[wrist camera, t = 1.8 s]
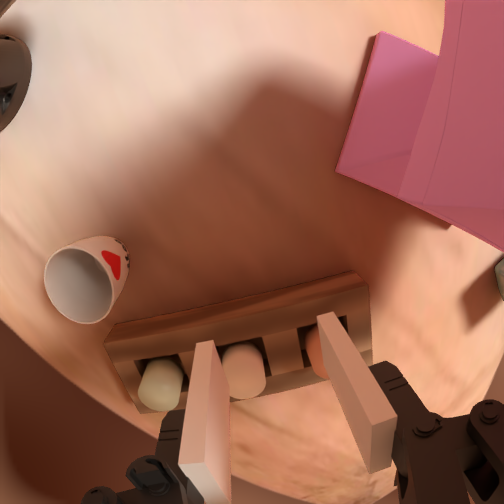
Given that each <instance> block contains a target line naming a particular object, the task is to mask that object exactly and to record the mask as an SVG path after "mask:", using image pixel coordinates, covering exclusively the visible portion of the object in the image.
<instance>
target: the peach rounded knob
mask: <svg viewBox="0 0 504 504" xmlns="http://www.w3.org/2000/svg"><path fill="white" fill-rule="evenodd" d="M222 367H223V370H224V373H225V375H226V378H227V381H228V384H229V391H230V396H231V397H233V398H237V399H250V398H253V397H255V396H257V395H259V394H260V393H261V392H262V391H263V390H264V388H265V386H266V378H265V372H264V366H263V359H262V353H261V351H260V349H259V348H258V347H257V346H256V345H254V344H253V343H250V342H246V341H239V342H235V343H232V344H230V345H229V346H228V347H226V349H225V350H224V352H223V355H222Z"/></svg>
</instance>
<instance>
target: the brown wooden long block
mask: <svg viewBox="0 0 504 504" xmlns="http://www.w3.org/2000/svg"><path fill="white" fill-rule="evenodd" d="M330 312H334V313H335V315H336V317H337V318H338V320H339V321H340V323H341V324H342V326H343V328H344V329H345V331H346V332H347V334H348V336H349V337H350V339H351V340H352V342H353V344H354V345H355V347H356V348H357V350H358V352H359V353H360V355H361V357H362V358H363V360H364V361H365V363H366V365H367V366H371V365H373V355H372V331H371V314H370V300H369V288H368V284H367V283H366V282H365V281H364V280H363V279H362V278H361V277H360V276H359V275H358V274H356V273H355V272H354V271H349V272H346V273H342V274H338V275H334V276H330V277H326V278H322V279H319V280H315V281H311V282H307V283H303V284H299V285H295V286H290V287H286V288H282V289H278V290H274V291H270V292H266V293H261V294H257V295H253V296H248V297H244V298H240V299H235V300H231V301H226V302H222V303H217V304H213V305H208V306H204V307H199V308H194V309H190V310H185V311H180V312H175V313H170V314H166V315H161V316H156V317H151V318H146V319H141V320H135V321H130V322H125V323H120V324H115V325H114V327H113V328H112V330H111V332H110V333H109V335H108V336H107V338H106V339H105V341H104V343H103V345H104V347H105V349H106V351H107V353H108V355H109V357H110V359H111V361H112V363H113V365H114V367H115V369H116V371H117V373H118V375H119V377H120V379H121V380H122V382H123V384H124V386H125V388H126V390H127V391H128V393H129V395H130V397H131V399H132V400H133V402H134V404H135V406H136V407H137V409H138V411H139V412H140V414H144V413H155V412H165V411H156V410H153V409H150V408H148V407H147V406H145V405H144V404H143V403H142V402H141V400H140V399H139V396H138V389H139V386H140V383H141V381H142V378H143V375H144V372H145V369H146V367H147V364H148V362H149V361H150V360H151V359H153V358H155V357H159V356H164V357H169V358H172V359H174V360H175V361H177V362H178V363H179V364H180V365H181V367H182V369H183V372H184V376H183V381H182V386H181V392H180V397H179V402H178V405H177V406H176V407H175V408H174V409H172V410H179V409H186V404H187V398H188V391H189V385H190V379H191V372H192V366H193V360H194V354H195V348H196V343H200V342H205V341H210V340H213V341H214V344H215V347H216V350H217V353H218V356H219V358H220V361H221V364H222V355H223V352H224V350H225V349H226V347H228V346H229V345H230V344H232V343H235V342H239V341H246V342H250V343H253V344H254V345H256V346H257V347H258V348H259V349H260V351H261V353H262V359H263V366H264V372H265V378H266V386H265V388H264V390H263V391H262V392H261V393H260V394H259V395H257V396H255V397H260V396H265V395H270V394H274V393H279V392H283V391H287V390H291V389H295V388H300V387H303V386H307V385H311V384H315V383H319V382H322V381H326V380H330V379H326V378H322V377H319V376H318V375H317V374H316V373H315V372H314V370H313V367H312V365H311V362H310V359H309V357H308V354H307V351H306V349H305V346H304V336H305V334H306V332H307V330H308V329H309V328H310V327H311V326H313V325H314V324H316V323H317V316H318V315H322V314H326V313H330ZM255 397H253V398H255ZM240 400H245V399H237V398H233V397H231V396H230V402H234V401H240ZM170 411H171V410H170Z"/></svg>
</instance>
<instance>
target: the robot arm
mask: <svg viewBox="0 0 504 504" xmlns="http://www.w3.org/2000/svg"><path fill="white" fill-rule="evenodd" d="M15 1H16V0H0V18H1V17H2V15H3V14H4V13H5V12H6V11H7V10H8V9H9V7H10V6H11V5H12V4H13V3H14V2H15ZM31 70H32V61H31V55H30V51H29V49H28V47H27V45H26V44H25V43H24V42H23V41H21V40H20V39H17V38H15V37H13V36H10V35H0V131H1V130H2V129H3V128H4V127H6V126H7V125H8V123H9V122H10V121H11V120H12V119H13V117H14V116H15V114H16V113H17V111H18V110H19V108H20V106H21V104H22V102H23V100H24V98H25V95H26V93H27V90H28V86H29V83H30V78H31ZM317 323H318V329H319V336H320V343H321V349H322V356H323V364H324V367H325V369H326V371H327V374H328V376H329V378H330V381H331V383H332V386H333V388H334V390H335V393H336V395H337V397H338V400H339V402H340V404H341V407H342V409H343V412H344V414H345V416H346V419H347V421H348V424H349V426H350V428H351V431H352V433H353V436H354V438H355V441H356V443H357V445H358V448H359V450H360V453H361V455H362V458H363V460H364V463H365V465H366V467H367V470H368V472H369V474H371V473H374V472H377V471H380V470H383V469H385V468H388V467H391V462H392V459H393V461H394V463H395V465H396V467H397V470H396V475H395V480H394V486H397V487H398V494H399V503H400V504H470V501H469V497H468V493H467V491H468V492H469V494H470V496H471V497H472V499H473V501H474V502H475V504H504V405H503V404H502V403H500V402H499V401H496V400H483V401H481V402H478V403H477V404H476V405H475V406H473V408H472V410H471V412H470V414H468V415H463V416H458V417H453V418H442V417H441V416H440V415H438V414H436V413H432V412H429V411H428V410H427V409H426V407H425V406H424V404H423V403H422V401H421V400H420V399H419V397H418V396H417V394H416V393H415V392H414V390H413V389H412V387H411V386H410V385H409V384H408V382H407V380H406V379H405V378H404V377H403V375H402V373H401V372H400V371H399V369H398V368H397V367H396V366H395V365H393V364H391V363H389V362H388V361H383V362H380V363H377V364H374V365H371V366H367V365H366V363H365V361H364V360H363V358H362V357H361V355H360V353H359V352H358V350H357V348H356V347H355V345H354V344H353V342H352V340H351V339H350V337H349V336H348V334H347V332H346V331H345V329H344V328H343V326H342V324H341V323H340V321H339V320H338V318H337V317H336V315H335V313H334V312H330V313H326V314H322V315H318V316H317ZM158 440H159V441H158V443H157V447H156V452H155V456H154V455H150V456H143V457H141V458H138V459H136V460H135V461H134V462H132V463H131V464H130V466H129V467H128V469H127V472H126V477H127V478H128V479H129V480H130V481H131V482H132V483H133V485H134V486H135V487H136V488H134V489H131V490H127V491H123V492H119V493H115V492H114V491H112V490H111V489H110V488H108V487H104V486H101V487H95V488H93V489H90V490H89V491H88V492H87V493H86V494H85V495H84V497H83V499H82V501H81V504H204V501H205V502H206V503H207V504H231V467H230V391H229V384H228V381H227V378H226V375H225V373H224V370H223V367H222V364H221V361H220V358H219V356H218V353H217V350H216V347H215V344H214V341H213V340H210V341H205V342H200V343H196V348H195V354H194V360H193V366H192V372H191V379H190V385H189V391H188V398H187V404H186V409H179V410H171V411H169V412H168V413H167V415H166V416H165V417H164V419H163V420H162V424H161V429H160V433H159V438H158Z"/></svg>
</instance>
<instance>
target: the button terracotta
mask: <svg viewBox="0 0 504 504" xmlns="http://www.w3.org/2000/svg"><path fill="white" fill-rule="evenodd" d="M304 346H305V349H306V351H307V354H308V357H309V359H310V362H311V365H312V367H313V370H314V372H315V373H316V374H317V375H318V376H319V377H322V378H326V379H330V378H329V376H328V374H327V371H326V369H325V367H324V364H323V356H322V349H321V343H320V336H319V329H318V323H316V324H314V325H313V326H311V327H310V328H309V329H308V330H307V332H306V334H305V336H304Z"/></svg>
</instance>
